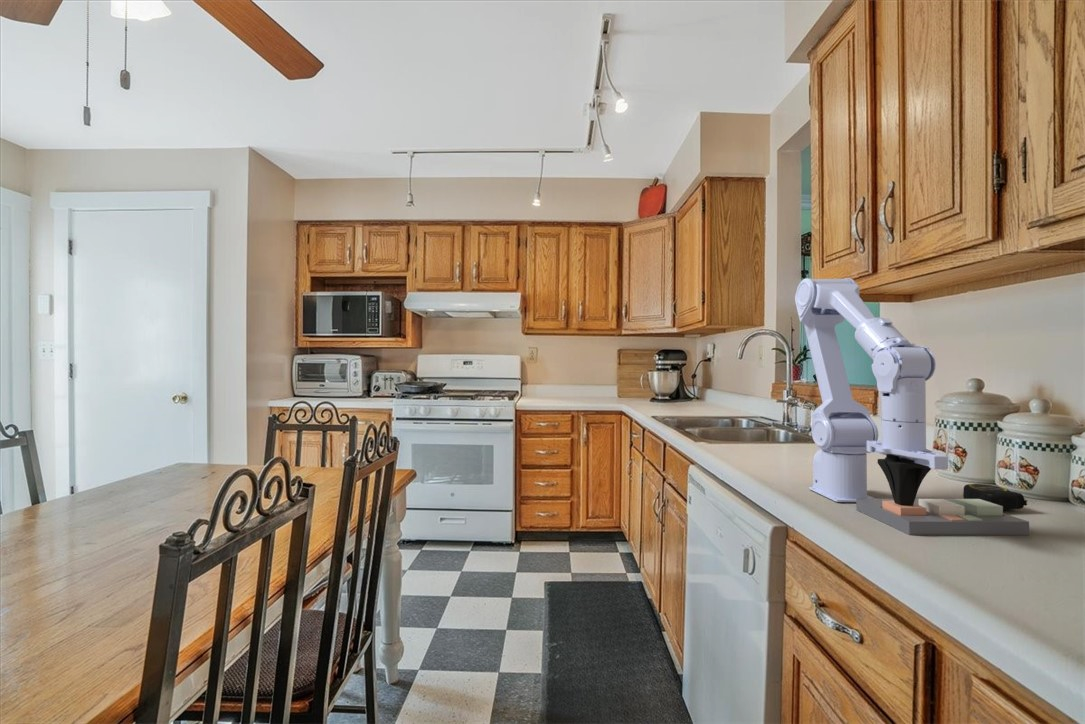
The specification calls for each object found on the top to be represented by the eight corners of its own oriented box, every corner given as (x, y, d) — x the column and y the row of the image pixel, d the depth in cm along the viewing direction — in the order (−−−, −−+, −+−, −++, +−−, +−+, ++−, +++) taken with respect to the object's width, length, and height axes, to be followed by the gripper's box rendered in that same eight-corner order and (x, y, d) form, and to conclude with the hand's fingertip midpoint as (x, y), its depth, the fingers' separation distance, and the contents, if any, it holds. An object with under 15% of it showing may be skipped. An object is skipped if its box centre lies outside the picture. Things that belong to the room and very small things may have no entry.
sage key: (955, 512, 77) (954, 498, 77) (979, 512, 77) (979, 498, 77) (977, 520, 73) (977, 506, 73) (1002, 520, 73) (1002, 506, 73)
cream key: (918, 512, 77) (918, 498, 77) (942, 512, 77) (942, 498, 77) (939, 520, 73) (938, 506, 73) (964, 520, 73) (964, 506, 73)
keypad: (856, 509, 82) (856, 497, 82) (958, 509, 82) (958, 497, 82) (909, 534, 70) (909, 520, 70) (1029, 534, 70) (1029, 520, 70)
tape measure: (989, 514, 80) (989, 493, 80) (952, 503, 87) (952, 483, 87) (1027, 514, 80) (1027, 492, 80) (988, 502, 87) (988, 482, 87)
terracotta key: (882, 513, 77) (882, 500, 77) (906, 513, 77) (906, 500, 77) (900, 521, 73) (900, 507, 73) (926, 521, 73) (926, 507, 73)
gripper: (849, 415, 83) (849, 492, 82) (913, 426, 68) (914, 519, 68) (889, 415, 82) (889, 492, 82) (962, 426, 68) (963, 519, 68)
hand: (903, 504), depth 75 cm, fingers closed, pressing on terracotta key
